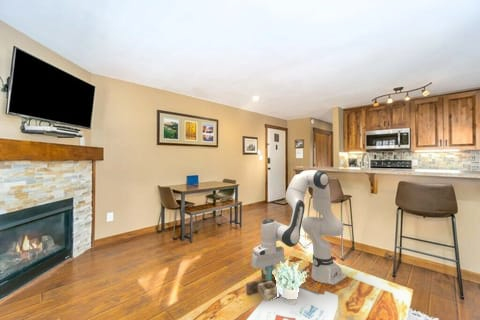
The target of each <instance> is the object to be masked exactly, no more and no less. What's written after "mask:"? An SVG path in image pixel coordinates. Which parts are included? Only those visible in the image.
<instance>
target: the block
mask: <svg viewBox="0 0 480 320" xmlns="http://www.w3.org/2000/svg"><path fill="white" fill-rule="evenodd" d="M257 294H258V295H260V296H261V298H262V299H263V300H264V301H265V302H268V300H269V301H271V299H272V300H274V299H273V298H275V297H277V287H276V284H275V283H273V282H272V281H267V282H263V283H260V284H258V293H257ZM275 299H276V298H275Z"/></svg>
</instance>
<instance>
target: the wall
mask: <svg viewBox="0 0 480 320" xmlns="http://www.w3.org/2000/svg"><path fill="white" fill-rule="evenodd" d="M271 281H272V282H273V283H275V284H276V280H275V277H274V276H272V277H271ZM263 282H267V280H266V278H264V279H262V278H261V279H258V280H252V281H250V282H246V285H245V287H246V288H245V289H246V296H251V295H255V294H259V293H258V284H260V283H263Z"/></svg>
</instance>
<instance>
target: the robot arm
mask: <svg viewBox="0 0 480 320" xmlns="http://www.w3.org/2000/svg"><path fill="white" fill-rule="evenodd" d="M329 183H330V180H329V175H328V173H327V172H326V171H323V170H316V169H309V170H307V169H306V170H305V169H303V170H300V171H298V173H297V174H295V175H294V176H293V177H292V178H291V181H290V182H289V184H288V187H287V189H286V192H285V196H284V197H285V201H286V202H287V203H288V205H289V206H290V207H291V210H292V215H291V218H290V219H291V220H290V223H289V225H286V224H285V223H281V222H278V221H276V220H275V219H273V218H267V219H264V220H263V221H262V222H261V224H260V225H261V226H260V237H261V241H260V244H259V245H257V246H255V247H254V248H252V252H253V253H252V256H251V266H252V268H254V269H255V270H257V269H261V268H262V269H263V273H264V274H267V271H266V270H265V267H267V266H271V265H272V268H271V273H272V271H273V270H274V269H275V267H276V268H277V265H280V261H281V262H283V263H282V264H284V263H285V260H286V259H285V249H284V246H282V245H280V246H277V242H278V241H279V242H281V243H282V244H284V245H286V246H287V247H290V248H292V247H295V246H296V245H298V243H299V241H300V239H301V228H302V231H304V232H305V233H306V234H307V235H308V237H309V238H310V240H311V242H312V250H313V251H312V252H313V254H312V267H311V268H312V269H311V274H310V277H311V279H312V280H314V281H315V282H318V283H321V284H322V283H323V284H329V285H333V286H334V285H336V284H338V283H340V282H341V281H343V280H344V279H346V278H347V277H346V275H345V274H344V273H343V271H342V268H341V267H340V266H339V265H338V264H337V263H336V262H334V261H336V260H337V257H336V256H334V255H332V246H331V243H330V242H329V241H327V240H326V239H325V238H324V237H323V236H327V237H340V236H342V235H343V233H344V224H343V223H342V221H341V220H339V219H338V218H337V217H336V216H335V214H334V213H333V210H332V204H331V189H330V184H329ZM308 188H312V208H313V209H314V211H315V212H317V213H319V214H320V215H321V216H319V217H318V216H306V217H304V215H305V214H304V213H305V209H306V208H305V207H306V205H305V202H304V201H305V196H306V194H307V189H308Z"/></svg>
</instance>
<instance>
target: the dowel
mask: <svg viewBox="0 0 480 320" xmlns="http://www.w3.org/2000/svg"><path fill="white" fill-rule="evenodd" d="M266 271H267V274H266V280H267V281H271V266H267V267H266Z"/></svg>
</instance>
